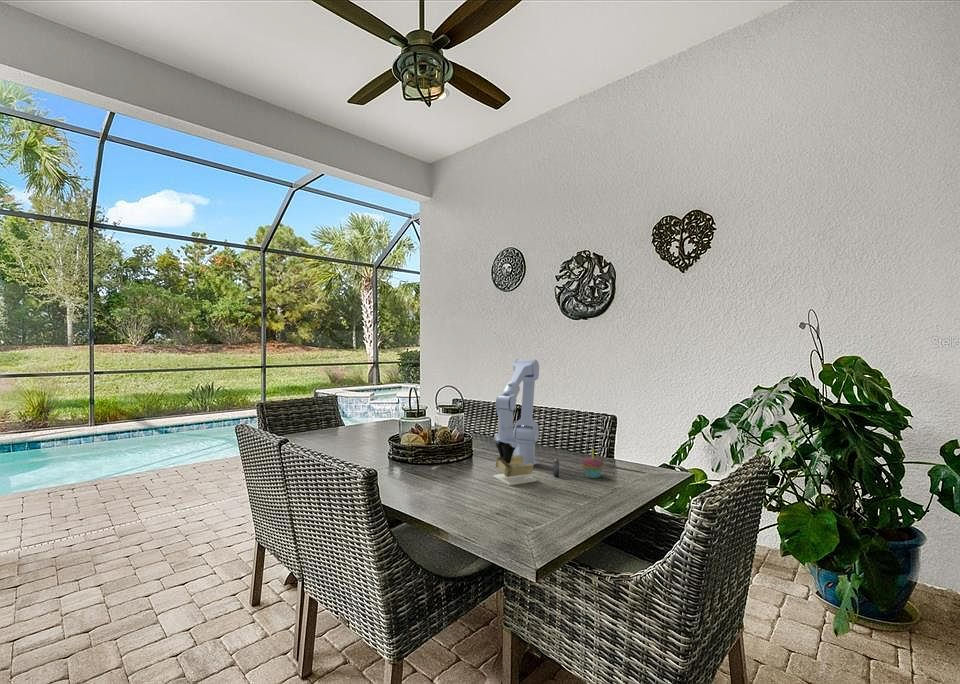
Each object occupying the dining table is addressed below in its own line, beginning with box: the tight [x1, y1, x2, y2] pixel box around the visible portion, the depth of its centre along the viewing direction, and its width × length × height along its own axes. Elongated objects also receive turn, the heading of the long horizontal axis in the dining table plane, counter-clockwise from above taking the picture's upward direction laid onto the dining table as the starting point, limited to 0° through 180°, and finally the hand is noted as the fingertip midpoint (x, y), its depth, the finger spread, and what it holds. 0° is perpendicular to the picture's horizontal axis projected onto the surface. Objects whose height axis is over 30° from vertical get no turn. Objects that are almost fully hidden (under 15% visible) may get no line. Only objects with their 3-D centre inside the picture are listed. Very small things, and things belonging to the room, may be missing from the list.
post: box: [553, 458, 560, 478], centre depth 176 cm, size 2×2×7 cm
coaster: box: [492, 473, 538, 486], centre depth 173 cm, size 12×12×1 cm
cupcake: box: [580, 447, 605, 479], centre depth 176 cm, size 9×8×12 cm
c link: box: [495, 455, 534, 477], centre depth 173 cm, size 9×11×4 cm
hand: (505, 462), depth 175 cm, fingers closed on c link, 2 cm apart
